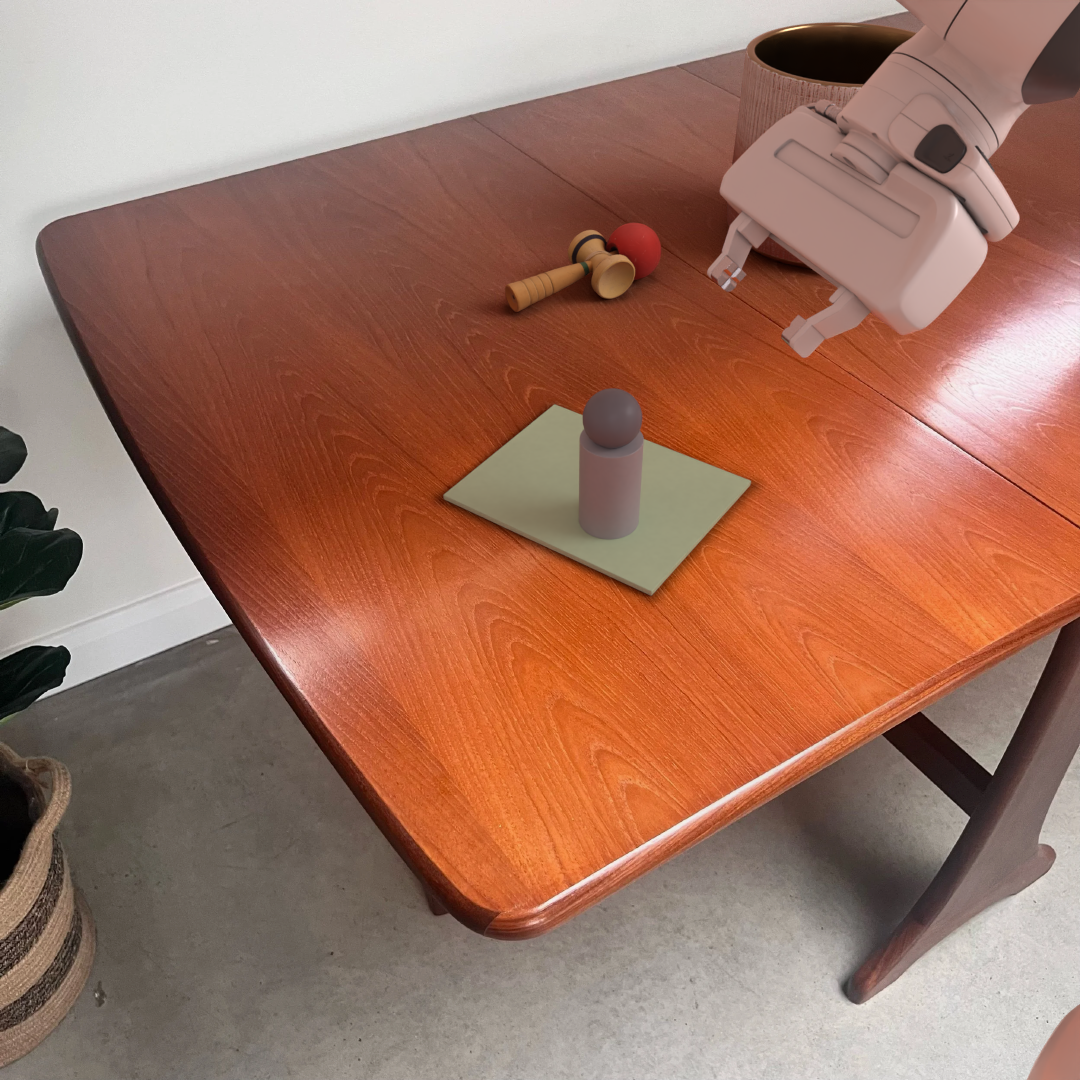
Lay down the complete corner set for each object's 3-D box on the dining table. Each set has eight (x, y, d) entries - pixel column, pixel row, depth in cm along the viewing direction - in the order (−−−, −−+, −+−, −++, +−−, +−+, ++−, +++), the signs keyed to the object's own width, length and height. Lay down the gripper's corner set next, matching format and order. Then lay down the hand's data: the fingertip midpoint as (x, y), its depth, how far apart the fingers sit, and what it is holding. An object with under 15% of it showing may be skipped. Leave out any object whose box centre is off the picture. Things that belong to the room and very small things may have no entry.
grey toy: (650, 514, 83) (658, 388, 75) (617, 547, 81) (623, 419, 73) (599, 493, 86) (603, 368, 78) (566, 524, 83) (567, 398, 75)
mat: (750, 485, 87) (751, 480, 86) (651, 596, 77) (651, 591, 77) (554, 408, 96) (554, 403, 95) (443, 499, 86) (442, 494, 86)
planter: (737, 186, 132) (757, 15, 119) (918, 203, 127) (960, 27, 114) (711, 265, 116) (730, 78, 103) (917, 288, 111) (964, 95, 98)
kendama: (536, 340, 107) (680, 276, 112) (521, 283, 103) (672, 219, 108) (503, 320, 113) (642, 259, 118) (489, 265, 109) (632, 205, 114)
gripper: (790, 62, 70) (652, 226, 74) (999, 170, 56) (815, 366, 59) (835, 120, 74) (702, 272, 78) (1040, 234, 60) (865, 413, 64)
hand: (752, 314), depth 69 cm, fingers open, 8 cm apart
